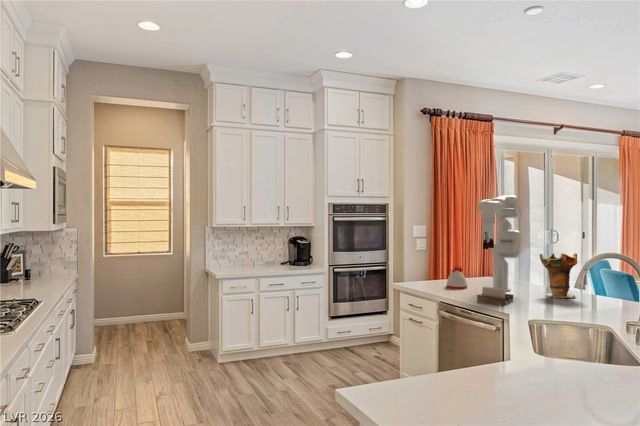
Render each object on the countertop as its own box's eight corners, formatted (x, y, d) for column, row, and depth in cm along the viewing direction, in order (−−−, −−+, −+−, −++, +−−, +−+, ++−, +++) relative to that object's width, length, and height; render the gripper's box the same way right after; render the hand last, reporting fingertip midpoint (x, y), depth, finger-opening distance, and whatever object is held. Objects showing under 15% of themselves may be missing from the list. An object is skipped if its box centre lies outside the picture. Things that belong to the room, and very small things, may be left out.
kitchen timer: (469, 289, 309) (469, 267, 309) (449, 289, 309) (449, 267, 309) (463, 285, 323) (463, 264, 322) (444, 285, 323) (444, 264, 323)
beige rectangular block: (484, 298, 269) (484, 286, 269) (504, 301, 262) (504, 288, 262) (482, 299, 267) (482, 287, 267) (503, 301, 259) (503, 289, 259)
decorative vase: (549, 291, 300) (550, 249, 300) (585, 297, 281) (586, 252, 281) (531, 294, 289) (531, 251, 289) (567, 300, 270) (568, 254, 269)
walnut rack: (486, 298, 278) (486, 291, 278) (513, 301, 268) (513, 294, 268) (477, 301, 266) (477, 295, 266) (505, 305, 256) (505, 298, 256)
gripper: (487, 220, 290) (487, 247, 290) (477, 221, 276) (477, 249, 277) (499, 220, 285) (499, 247, 285) (490, 221, 272) (489, 249, 272)
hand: (488, 248), depth 281 cm, fingers open, 9 cm apart
